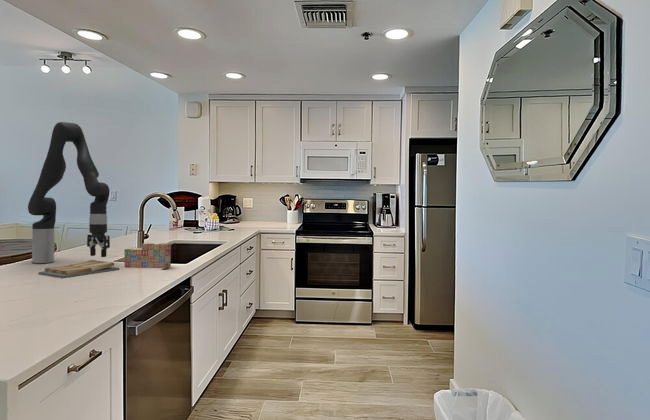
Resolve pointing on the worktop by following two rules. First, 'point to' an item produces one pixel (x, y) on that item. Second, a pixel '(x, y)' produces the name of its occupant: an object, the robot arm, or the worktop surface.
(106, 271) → the underlay mat
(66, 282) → the worktop surface
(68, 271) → the laid plank
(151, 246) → the stack of blocks
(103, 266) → the board
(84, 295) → the worktop surface
